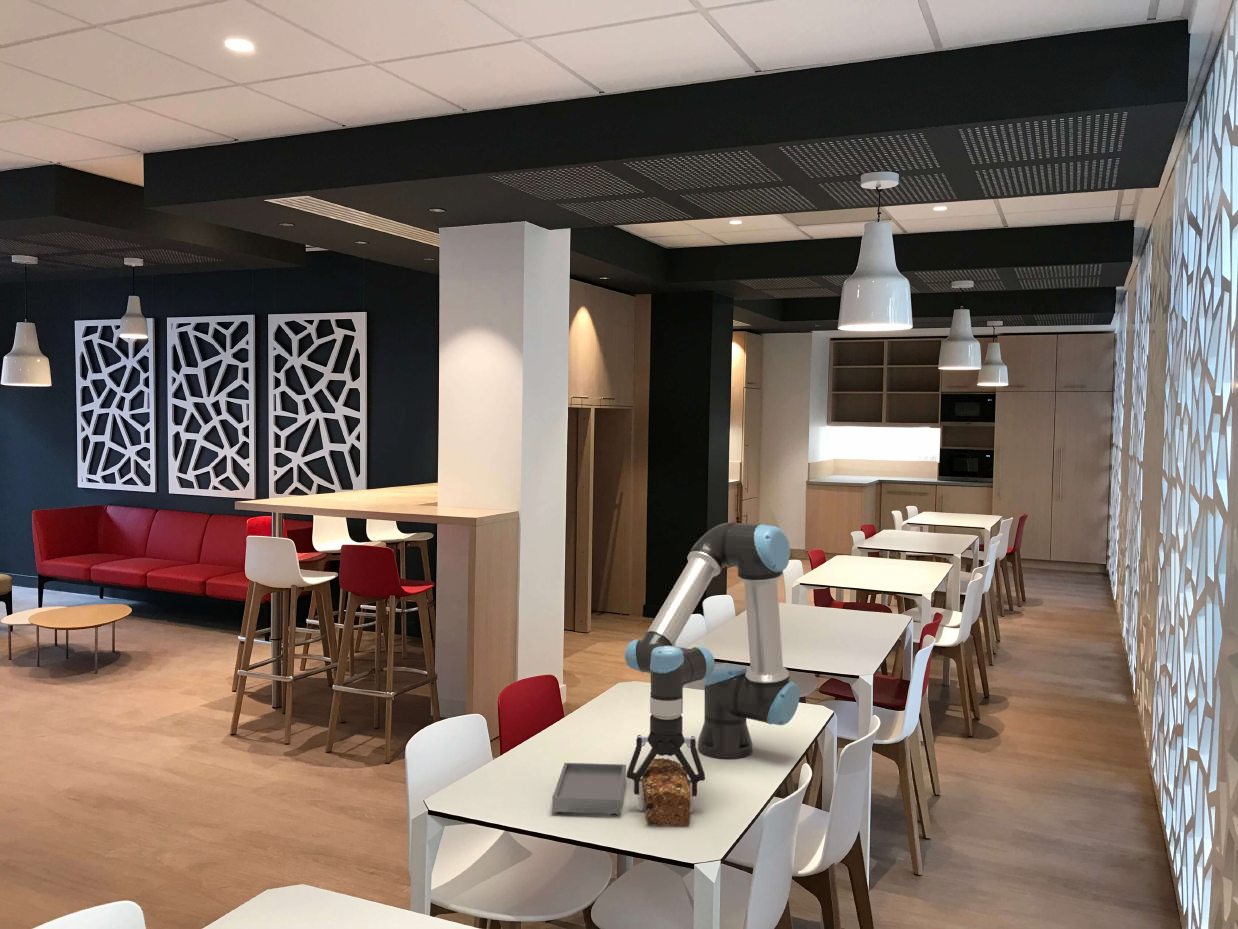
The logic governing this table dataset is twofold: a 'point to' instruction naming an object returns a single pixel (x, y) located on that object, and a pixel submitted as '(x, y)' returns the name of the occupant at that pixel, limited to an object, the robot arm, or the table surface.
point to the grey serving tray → (590, 788)
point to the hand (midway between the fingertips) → (665, 808)
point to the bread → (666, 793)
